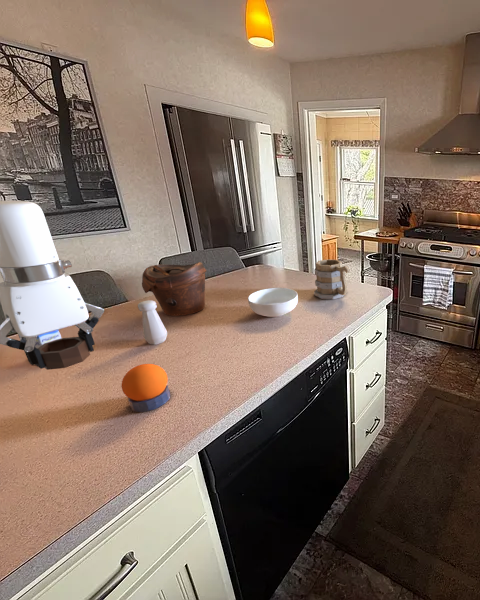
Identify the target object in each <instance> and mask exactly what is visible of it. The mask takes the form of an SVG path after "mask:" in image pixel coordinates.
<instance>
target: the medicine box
mask: <svg viewBox="0 0 480 600" xmlns="http://www.w3.org/2000/svg"><path fill="white" fill-rule="evenodd" d="M17 335H18V334H17ZM18 338H19V339H20V338H21V336H19V335H18ZM61 338H62V335H61V333H60V329H59V330H55V331H52V332H48V333H45V334H41V335H38V336H37V339H36V343H35V347H36V348H39V347H40V346H41V345H43V344H44V343H47V342H51V341H54V340H58V339H61Z"/></svg>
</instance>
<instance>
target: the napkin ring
mask: <svg viewBox="0 0 480 600" xmlns="http://www.w3.org/2000/svg"><path fill="white" fill-rule="evenodd" d="M37 349H39V351H40V353H41V355H42V358H43V360H44V363H45V365H46V367H45V368H44V369H45V370H47V371H50V370H58V369H67V368H69V367H71V366H75V365H77V364H80V363H83V362H85V360H87V358H88V357H90V355H91V352H89V349H88V346H87V344H86V341H85V340H84V339H82V338H81V337H79V336H73V337H72V336H69V337H61V339H58V340H54V341H51V342H47V343H44V344H43V345H41V346H40V347H39V348H37Z"/></svg>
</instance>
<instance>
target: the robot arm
mask: <svg viewBox="0 0 480 600" xmlns="http://www.w3.org/2000/svg"><path fill="white" fill-rule="evenodd" d="M43 211H44V210H43V209H42V207H41V206H39V204H37V203H35V202H33V201H29V200H28V201H27V200H0V275H1V278H2V280H3V281H2V282H0V305H1V309H2V312H3V315H4V318H5V320H4V321H3V322H2V323H1V324H0V345H2V346H6V347H9V348H12V349H15V350H16V349H17V350H21V351H23V352H24V354H25V356H26V358H27V361H28V363H29V365H31V366H36V367H37V368H39V369H40V370H42V369H45V367H46V365H45V363H44V360H43V358H42V355H41V353H40V351H39V349H37V348H36V347H35V343H36V339H37V336H38V335H41V334H45V333H48V332H52V331H55V330H59V331H60V330H63V329H66V328H69V327H73V326H75V327H76V328H77V329H78V331H77V337H81V338H82V339H84V340H85V341H86V344H87V346H88V349H89V352H90V353H92V352H94V351H95V349H94V346H95V345H96V344H95V340H94V337H93V334H92V333H93V332H94V328H95V327H96V325H97V324H98V323H99V321H100V319H101V318H102V316H103V315H104V313H105V309H104V308H102V307H99V306H96V305H94V304H90V303H87V302H85V301H84V298H83V297H82V295H81V293H80V291H79V289H78V287H77V285H76V283H75V282H74V280H73V278H72V277H71V276H70V274H68V273H67V272H66V271H65V270H67V269H68V268H72V267H73V265H72V262H71V261H70V259H69V260H68V259H67V260H62V259H60V257H59V255H58V252H57V249H56V246H55V243H54V239H53V237H52V235H51V232H50V228H49V225H48V223H47V220H46V217H45V214H44V212H43ZM89 312H91V314H90V316H89ZM10 332H12V333H17V335H19V336H21V338H19V340H18V339H15V338H10V337H7V336H8V334H9V333H10ZM19 336H18V337H19Z"/></svg>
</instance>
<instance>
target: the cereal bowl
mask: <svg viewBox="0 0 480 600" xmlns="http://www.w3.org/2000/svg"><path fill="white" fill-rule="evenodd" d="M247 300H248V301H247V302H248V305H249V307H250V309H251V310H252V312H254V313H255V314H257V315H259V316H263V317H268V318H277V317H278V318H279V317H282V316H284V315H286V314H288V313H290V312H291V311H293V310H294V309H295V308H296V307H297V305H298V302H299V296H298V292H297V291H296V290H295V289H292V288H289V287H270V288H264V289H260V290H257V291H254V292H253V293H250V295H249V296H248V297H247Z"/></svg>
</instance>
